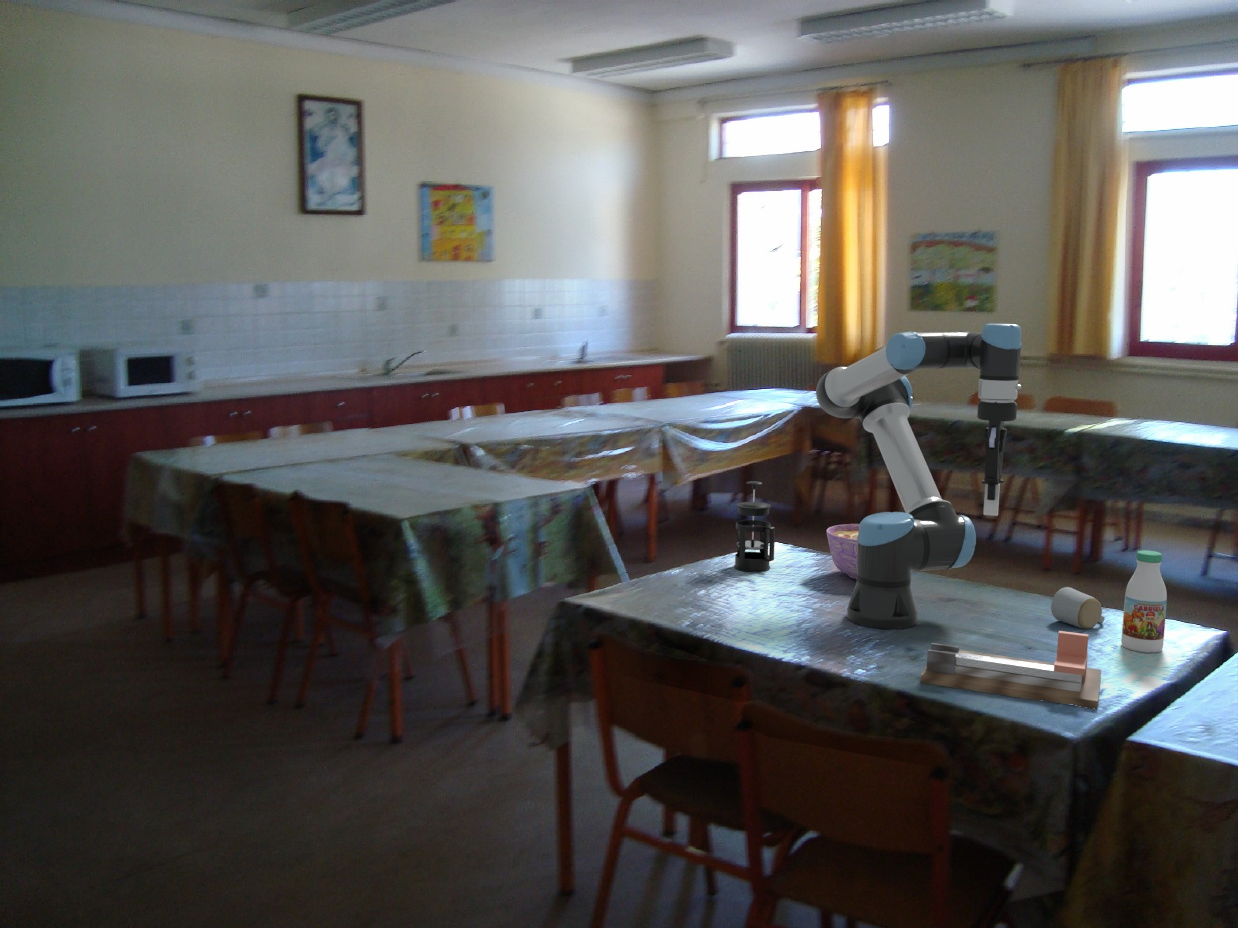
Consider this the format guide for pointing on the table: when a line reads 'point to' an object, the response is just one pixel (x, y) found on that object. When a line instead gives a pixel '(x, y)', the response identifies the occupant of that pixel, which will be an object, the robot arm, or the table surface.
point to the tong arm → (1013, 666)
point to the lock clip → (1071, 653)
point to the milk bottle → (1145, 605)
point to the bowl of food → (844, 547)
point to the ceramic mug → (1076, 608)
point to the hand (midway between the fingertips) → (990, 514)
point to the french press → (753, 559)
